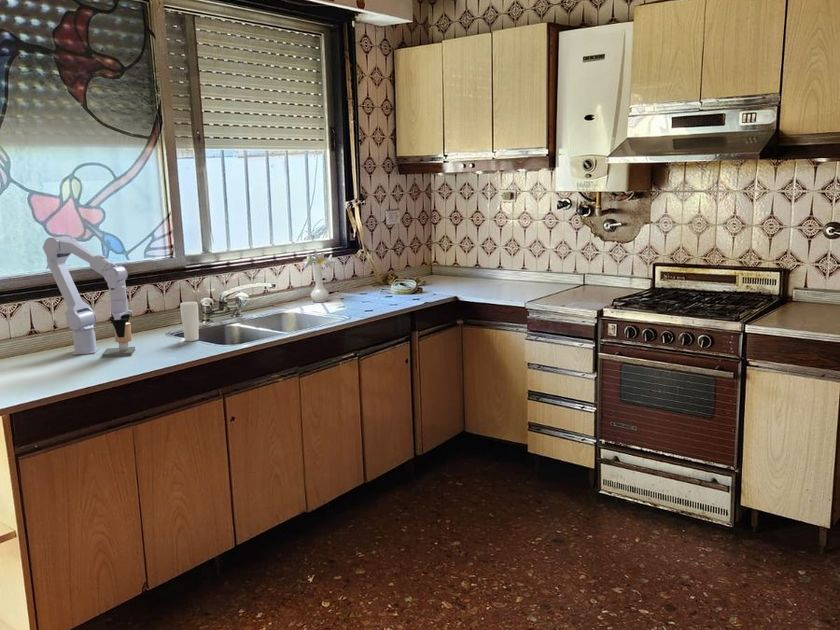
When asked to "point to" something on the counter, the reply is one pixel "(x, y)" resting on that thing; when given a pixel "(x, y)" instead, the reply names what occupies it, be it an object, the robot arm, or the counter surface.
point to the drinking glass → (190, 320)
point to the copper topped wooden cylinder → (127, 334)
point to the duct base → (116, 352)
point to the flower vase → (319, 275)
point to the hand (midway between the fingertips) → (122, 335)
